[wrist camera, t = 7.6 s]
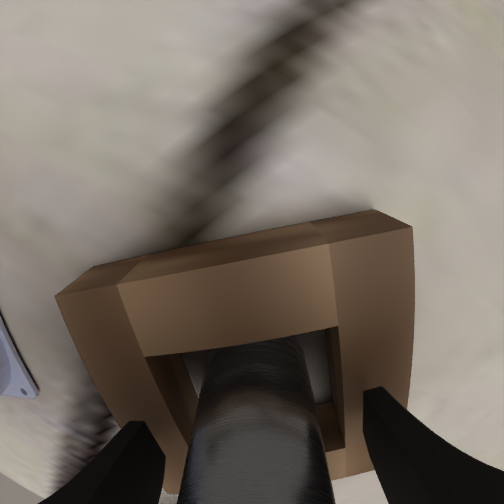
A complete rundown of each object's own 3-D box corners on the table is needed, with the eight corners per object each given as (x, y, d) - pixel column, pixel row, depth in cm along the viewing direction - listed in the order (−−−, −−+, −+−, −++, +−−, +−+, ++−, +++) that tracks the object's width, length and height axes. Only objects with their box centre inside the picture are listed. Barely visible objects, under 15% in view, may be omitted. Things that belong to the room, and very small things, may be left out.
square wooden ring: (177, 451, 15) (167, 493, 12) (93, 266, 12) (54, 295, 9) (380, 421, 14) (397, 462, 11) (375, 209, 11) (412, 226, 8)
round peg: (223, 403, 13) (205, 561, 6) (195, 332, 12) (141, 509, 5) (310, 387, 13) (342, 549, 5) (295, 311, 12) (337, 497, 4)
